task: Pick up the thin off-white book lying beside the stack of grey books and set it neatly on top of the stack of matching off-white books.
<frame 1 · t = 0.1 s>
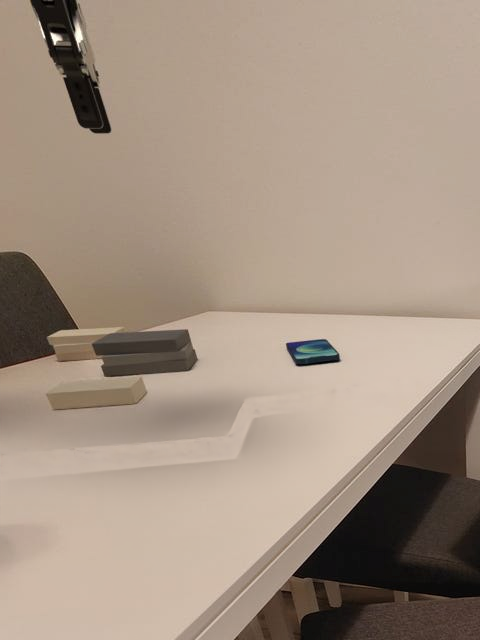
hand: (97, 131, 62), 29 cm above the table, tool pointing down, fingers open, 8 cm apart
white book: (101, 400, 85), on the table
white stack: (96, 355, 108), on the table
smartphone: (312, 355, 104), on the table
grey stack: (153, 367, 99), on the table
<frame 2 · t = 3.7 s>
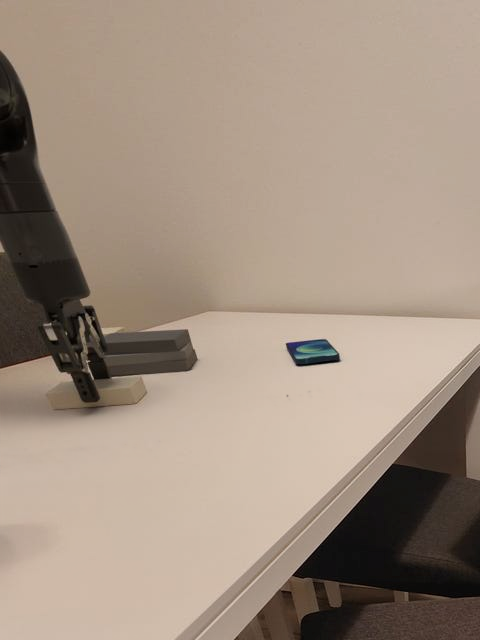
hand: (99, 394, 84), 1 cm above the table, tool pointing down, fingers closed on white book, 6 cm apart
white book: (101, 400, 85), on the table, touching gripper
everything else where it was.
when the fingers open (5 cm above the table, at t = 11.1 s): white book stays where it is, resting on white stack.
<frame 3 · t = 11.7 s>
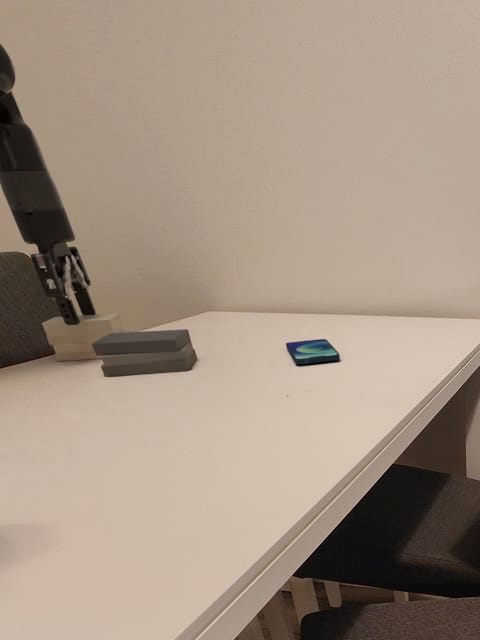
hand: (81, 320, 104), 6 cm above the table, tool pointing down, fingers open, 8 cm apart
white book: (86, 331, 105), point 4 cm above the table, touching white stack
everything else where it was.
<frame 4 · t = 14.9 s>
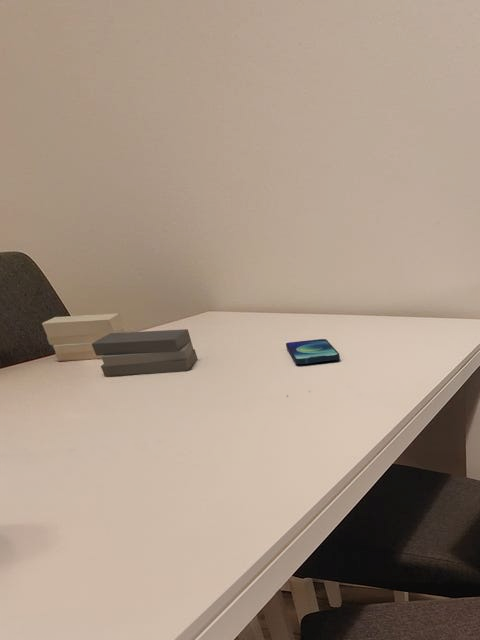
nothing on the table moved.
at the end: white book 0.0 cm off-centre on the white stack, point 3.9 cm above the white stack's base; white book tilted 0°; the gripper is holding nothing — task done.
